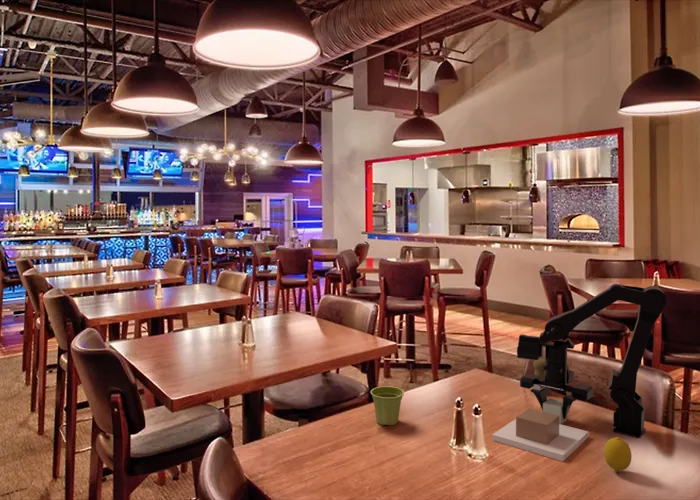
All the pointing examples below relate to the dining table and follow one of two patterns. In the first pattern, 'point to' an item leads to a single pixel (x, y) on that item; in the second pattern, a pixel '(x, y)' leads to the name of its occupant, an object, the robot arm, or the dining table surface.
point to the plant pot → (387, 404)
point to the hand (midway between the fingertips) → (554, 416)
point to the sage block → (554, 408)
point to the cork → (540, 370)
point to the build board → (545, 450)
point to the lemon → (617, 454)
